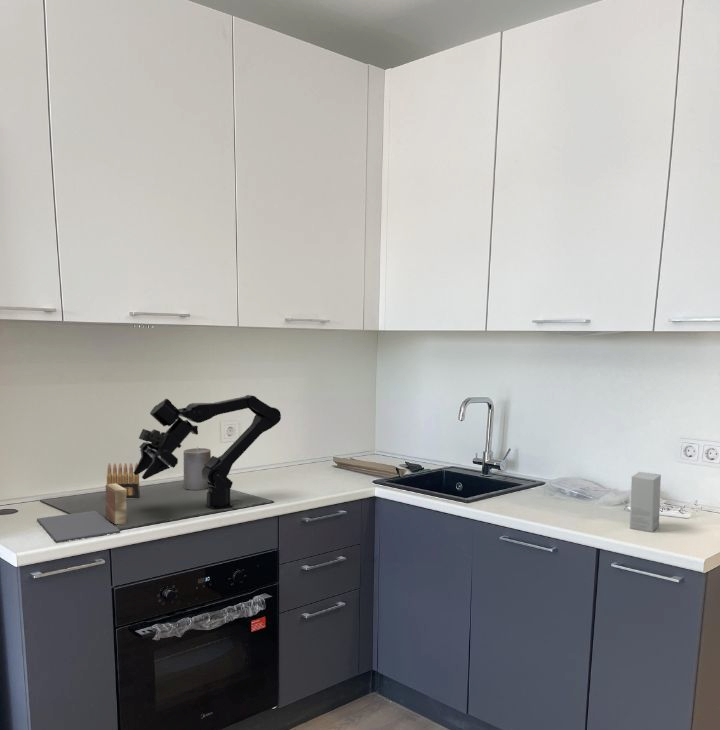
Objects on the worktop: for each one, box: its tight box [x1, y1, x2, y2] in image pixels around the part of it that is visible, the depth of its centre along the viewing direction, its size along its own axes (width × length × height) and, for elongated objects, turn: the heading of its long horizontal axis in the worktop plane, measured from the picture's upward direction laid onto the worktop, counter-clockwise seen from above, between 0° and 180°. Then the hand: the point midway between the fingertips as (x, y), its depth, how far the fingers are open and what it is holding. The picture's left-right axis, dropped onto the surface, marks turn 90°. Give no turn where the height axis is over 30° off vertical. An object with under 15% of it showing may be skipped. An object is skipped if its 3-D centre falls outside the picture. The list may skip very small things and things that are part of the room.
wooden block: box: [105, 483, 127, 525], centre depth 182 cm, size 3×10×10 cm, turn 37°
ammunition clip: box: [106, 462, 141, 499], centre depth 210 cm, size 11×2×12 cm, turn 96°
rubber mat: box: [36, 510, 121, 544], centre depth 176 cm, size 16×26×1 cm, turn 37°
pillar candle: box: [183, 446, 212, 491], centre depth 227 cm, size 10×10×15 cm
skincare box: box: [629, 471, 662, 533], centre depth 182 cm, size 8×7×16 cm
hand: (138, 476), depth 186 cm, fingers open, 7 cm apart
